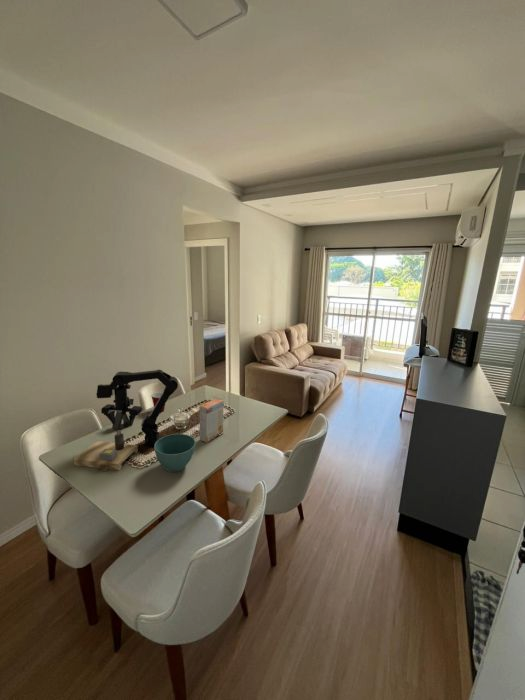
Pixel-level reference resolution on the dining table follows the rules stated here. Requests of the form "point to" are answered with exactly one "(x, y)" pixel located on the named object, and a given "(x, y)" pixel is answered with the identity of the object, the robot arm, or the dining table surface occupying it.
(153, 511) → the dining table surface
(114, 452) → the stud finder
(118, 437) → the bottle
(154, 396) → the plastic cup
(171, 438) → the teal bowl
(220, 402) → the cracker box
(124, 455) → the wooden board
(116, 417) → the phone stand
